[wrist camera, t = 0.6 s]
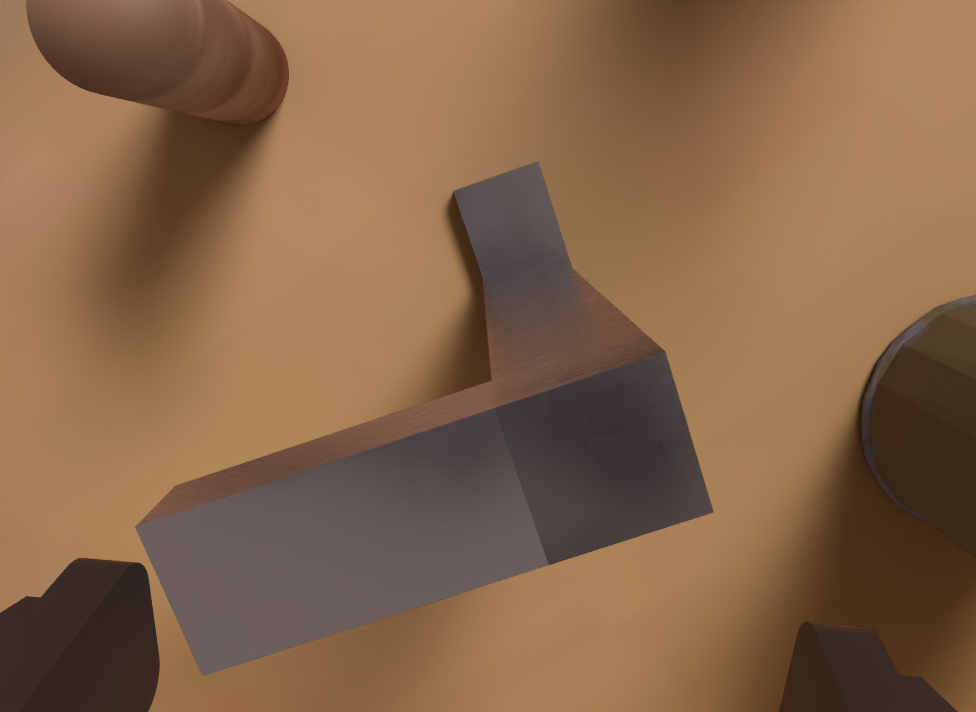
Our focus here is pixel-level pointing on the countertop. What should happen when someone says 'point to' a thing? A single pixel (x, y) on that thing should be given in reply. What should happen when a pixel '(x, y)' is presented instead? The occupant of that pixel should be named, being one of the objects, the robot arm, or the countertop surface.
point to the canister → (928, 420)
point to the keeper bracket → (443, 466)
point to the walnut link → (165, 54)
